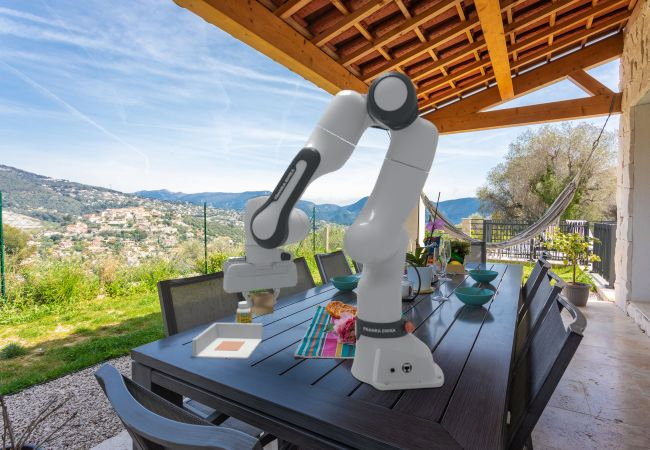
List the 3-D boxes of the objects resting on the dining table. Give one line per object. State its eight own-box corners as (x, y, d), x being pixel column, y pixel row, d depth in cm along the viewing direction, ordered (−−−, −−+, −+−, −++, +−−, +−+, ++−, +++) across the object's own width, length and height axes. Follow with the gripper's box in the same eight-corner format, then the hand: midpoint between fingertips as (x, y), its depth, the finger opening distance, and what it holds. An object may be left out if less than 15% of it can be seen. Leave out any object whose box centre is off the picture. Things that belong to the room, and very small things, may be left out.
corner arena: (262, 338, 114) (262, 323, 114) (247, 358, 98) (247, 341, 98) (215, 337, 115) (214, 322, 115) (192, 357, 99) (192, 339, 99)
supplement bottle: (249, 326, 127) (248, 299, 127) (254, 330, 123) (254, 302, 123) (234, 328, 124) (234, 301, 124) (239, 333, 120) (239, 305, 120)
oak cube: (267, 309, 100) (267, 291, 100) (273, 313, 96) (273, 295, 95) (250, 311, 98) (250, 293, 97) (255, 315, 93) (255, 297, 93)
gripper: (225, 258, 88) (226, 313, 89) (299, 254, 98) (300, 303, 98) (219, 256, 94) (220, 307, 94) (290, 252, 104) (291, 298, 104)
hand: (261, 305), depth 96 cm, fingers closed on oak cube, 5 cm apart
